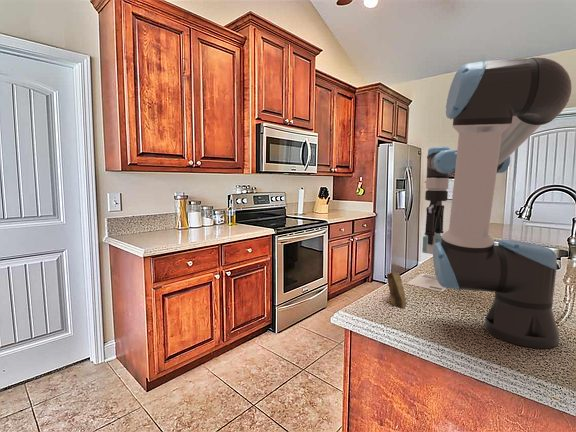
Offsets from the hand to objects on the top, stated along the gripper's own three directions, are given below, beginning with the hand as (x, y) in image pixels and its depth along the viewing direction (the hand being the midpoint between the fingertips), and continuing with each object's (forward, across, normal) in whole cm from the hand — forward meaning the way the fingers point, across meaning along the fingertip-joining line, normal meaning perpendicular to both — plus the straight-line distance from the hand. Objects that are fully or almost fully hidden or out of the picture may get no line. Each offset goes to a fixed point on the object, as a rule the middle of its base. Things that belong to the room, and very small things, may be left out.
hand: (433, 251), depth 122 cm
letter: (+12, 0, 0) cm, 12 cm away
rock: (+12, +28, -2) cm, 30 cm away
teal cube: (0, 0, 0) cm, 0 cm away
